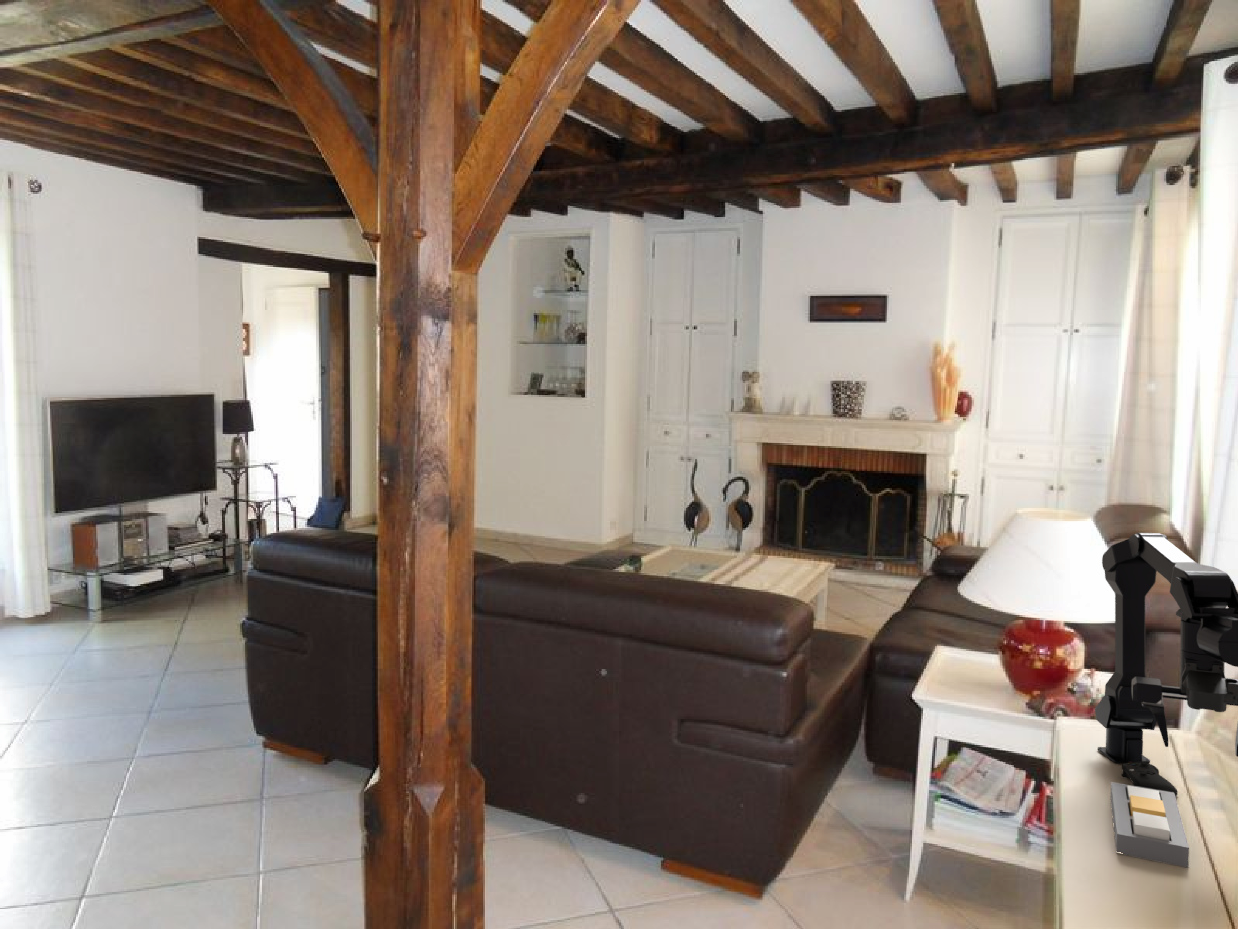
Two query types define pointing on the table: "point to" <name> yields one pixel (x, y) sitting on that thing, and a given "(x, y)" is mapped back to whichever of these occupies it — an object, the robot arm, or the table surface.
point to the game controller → (1146, 777)
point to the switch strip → (1142, 845)
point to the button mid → (1146, 806)
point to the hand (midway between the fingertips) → (1201, 751)
